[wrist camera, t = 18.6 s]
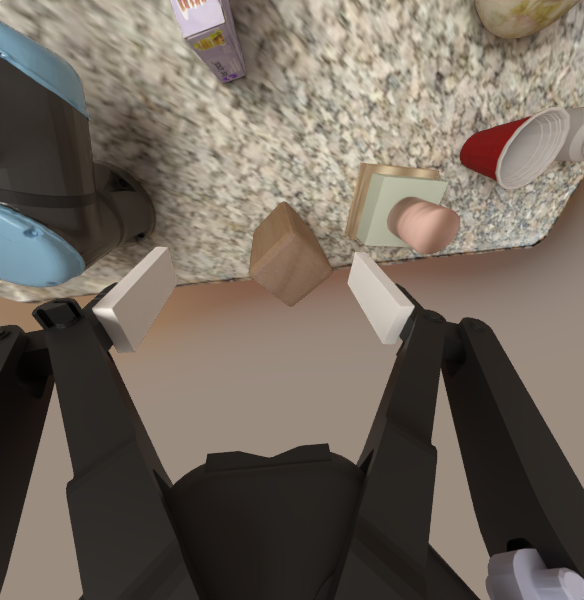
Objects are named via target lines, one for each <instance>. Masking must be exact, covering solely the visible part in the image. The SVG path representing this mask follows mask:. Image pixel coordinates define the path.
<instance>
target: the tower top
mask: <svg viewBox="0 0 584 600" xmlns="http://www.w3.org/2000/svg"><path fill="white" fill-rule="evenodd" d="M448 183H449V182H446V181H442V180H437V179H432V178H423V177H411V176H400V175H388V174H377V173H372V177H371V181H370V185H369V189H368V193H367V196H366V200H365V204H364V208H363V212H362V216H361V220H360V223H359V227H358V231H357V235H356V237H357V238H358V239H359V240H360V241H361V242H362V243H363V244H364V245H367V246H393V247H411V246H409V245H408V244H407V243H405V242H404V241H402V240H401V239H399V238H398V237H397V236H395V235H394V234H392V233H391V232H390V231H389V229H388V227H387V218H388V215H389V212H390V211H391V209H392V208H393V206H394V205H395V204H396V203H397V202H399V201H400V200H402V199H404V198H406V197H417V198H420V199H423V200H425V201H428V202H431V203H434V204H437V205H439V203H440V201H441V199H442V197H443V194H444V192H445V190H446V188H447V185H448Z"/></svg>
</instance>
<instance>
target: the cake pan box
mask: <svg viewBox="0 0 584 600" xmlns="http://www.w3.org/2000/svg"><path fill="white" fill-rule="evenodd" d="M170 2H171V4H172V7H173V10H174V13H175V15H176V18H177V21H178V24H179V26H180V29H181V32H182V35H183V37H184V39H185V40H186V41H187V42H188V44H189V45H190V46H191V47H192V48H193V49H194V51H195V52H196V53H197V54H198V55H199V57H200V58H201V59H202V60H203V61H204V62H205V63H206V65H207V66H208V67H209V68H210V69H211V71H212V72H213V73H214V75H215V76H216V77H217V78H218V79H219V80H220V82H221V83H226V82H229V81H232V80H235V79H237V78H240V77H243V76H245V75H246V68H245V64H244V60H243V56H242V52H241V48H240V44H239V40H238V36H237V32H236V28H235V24H234V20H233V16H232V12H231V8H230V4H229V0H170Z"/></svg>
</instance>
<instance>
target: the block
mask: <svg viewBox="0 0 584 600" xmlns="http://www.w3.org/2000/svg"><path fill="white" fill-rule="evenodd" d="M331 274H332V268H331V266H330V264H329V262H328V260H327V258H326V256H325V254H324V252H323V250H322V249H321V247H320V245H319V243H318V241H317V239H316V237H315V235H314V233H313V232H312V230H311V229H310V228H309V227H308V225H307V224H306V223H305V222H304V221H303V220H302V219H301V218H300V217H299V216H298V215H297V213H296V212H295V211H294V210H293V209H292V208H291V207H290V206H289V205H288V204H287V203H286V202H282V203H280V204H279V205H278V206H277V207H276V208H275V209H274V210H273V211H272V212H271V214H270V215H269V216H268V217H267V218H266V219H265V220H264V221H263V222H262V223H261V224H260V225H259V227H258V228H257V229H256V230H255V231H254V235H253V243H252V251H251V259H250V267H249V275H250V276H251V278H252V279H254V280H255V281H256V282H258V283H259V284H260V285H262V286H263V287H264V288H266V289H267V290H268V291H270V292H271V293H272V294H274V295H275V296H276V297H277V298H279V299H280V300H281V301H283V302H284V303H285V304H287V305H288V306H294V305H295V304H296V303H298V302H299V301H300V300H301V299H302V298H303V297H305V296H306V295H307V294H309V293H310V292H311V291H312V290H313V289H314V288H316V287H317V286H318V285H319V284H321V283H322V282H323V281H324V280H326V279H327V278H328V277H329V276H330V275H331Z"/></svg>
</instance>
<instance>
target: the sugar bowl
mask: <svg viewBox="0 0 584 600" xmlns="http://www.w3.org/2000/svg"><path fill="white" fill-rule="evenodd" d="M578 1H579V0H475V7H476V10H477V12H478V14H479V17H480V20H481V22H482V23H483V25H484V26H485V27H486V29H487V30H488V31H490V32H491V33H492V34H494V35H496V36H499V37H501V38H506V39H516V38H522V37H526V36H529V35H532V34H534V33H536V32H538V31H540V30H542V29H544V28H546V27H547V26H549V25H550V24H552V23H554V22H555V21H556V20H558V19H559V18H560V17H562V16H563V15H564V14H565V13H566V12H568V11H569V10H570V9H571V8H572V7H573V6H574V5H575V4H576V3H577V2H578Z"/></svg>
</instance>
